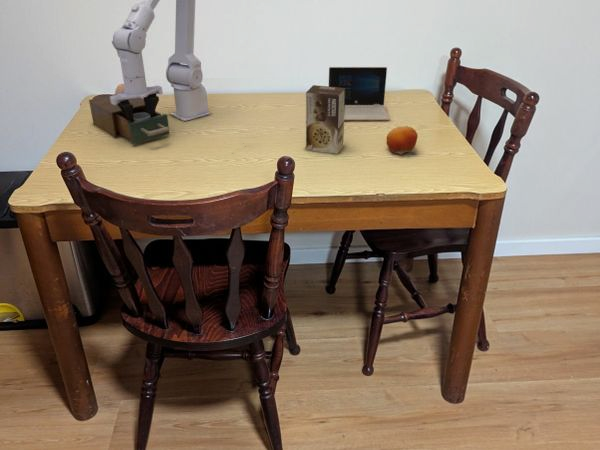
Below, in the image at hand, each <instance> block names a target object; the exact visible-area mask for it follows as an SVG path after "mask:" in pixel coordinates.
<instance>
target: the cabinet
mask: <svg viewBox="0 0 600 450" xmlns="http://www.w3.org/2000/svg"><path fill="white" fill-rule="evenodd" d="M118 94H119V93H118ZM113 95H116V94H115V93H114V94H110V95H109V94H108V95H105V96H100V97H96V98H92V99H88V103H89V108H90V113H91V119H92V124H93V125H94V126H96V127H98V128H99V129H101V131H104V132H106V133H107V134H108V135H109V136H112V137H113V138H115V139H117V138H121V137H124V136H123V135H121V134H119V133H118V132H117V129H116V124H115V118H114V114H118V113H122V110H121V109H120V108H119V106H118V105H113V104H111V101H110V96H113ZM129 102H130V104H131V105H133V110H135V109H139V108H143V107H146V106H145V103H144V99H143V98H139V99H135V100H130V101H129Z"/></svg>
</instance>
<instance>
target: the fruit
mask: <svg viewBox="0 0 600 450" xmlns="http://www.w3.org/2000/svg"><path fill="white" fill-rule="evenodd" d="M417 142H418V132H417V130H415V129H414V128H413V127H410V126H409V125H407V126H406V125H403V126H397V127H395V128H392V129H391V130H390V131H389V132H388V133H387V134H386V146H387V147H388V150H389V151H390V152H392V153H394V154H398V155H400V156H402V155H403V154H404V153H412V154H414V149H415V147H416V145H417Z"/></svg>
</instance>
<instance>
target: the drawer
mask: <svg viewBox="0 0 600 450" xmlns="http://www.w3.org/2000/svg"><path fill="white" fill-rule="evenodd" d="M142 112H144V113H147V112H146V107H143V108H139V109H135V110H133V114H135V113H142ZM114 118H115V124H116V129H117V132H118V133H119V134H121V135H123V136H122V137H124V138H126V139H128V140H129V141H130V144H131V145H136V144H139V143H144V142H146V141H150V140H154V139H157V138H160V137H165V136H168V135H170V128H169V119H168V114H166V113H160V112H159V111H156V110H155V114H154V117H150V118H147V119H143V120H139V121H135V122H130V121H129V120H127V119H126V117H125V115H124V114H123V112H122V113H118V114H114Z"/></svg>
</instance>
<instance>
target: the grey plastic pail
mask: <svg viewBox="0 0 600 450" xmlns="http://www.w3.org/2000/svg"><path fill="white" fill-rule="evenodd" d="M133 118H134V122H135V121H139V120H143V119H147V118H150V114H149V113H144V112H142V113H135V114H133Z"/></svg>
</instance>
